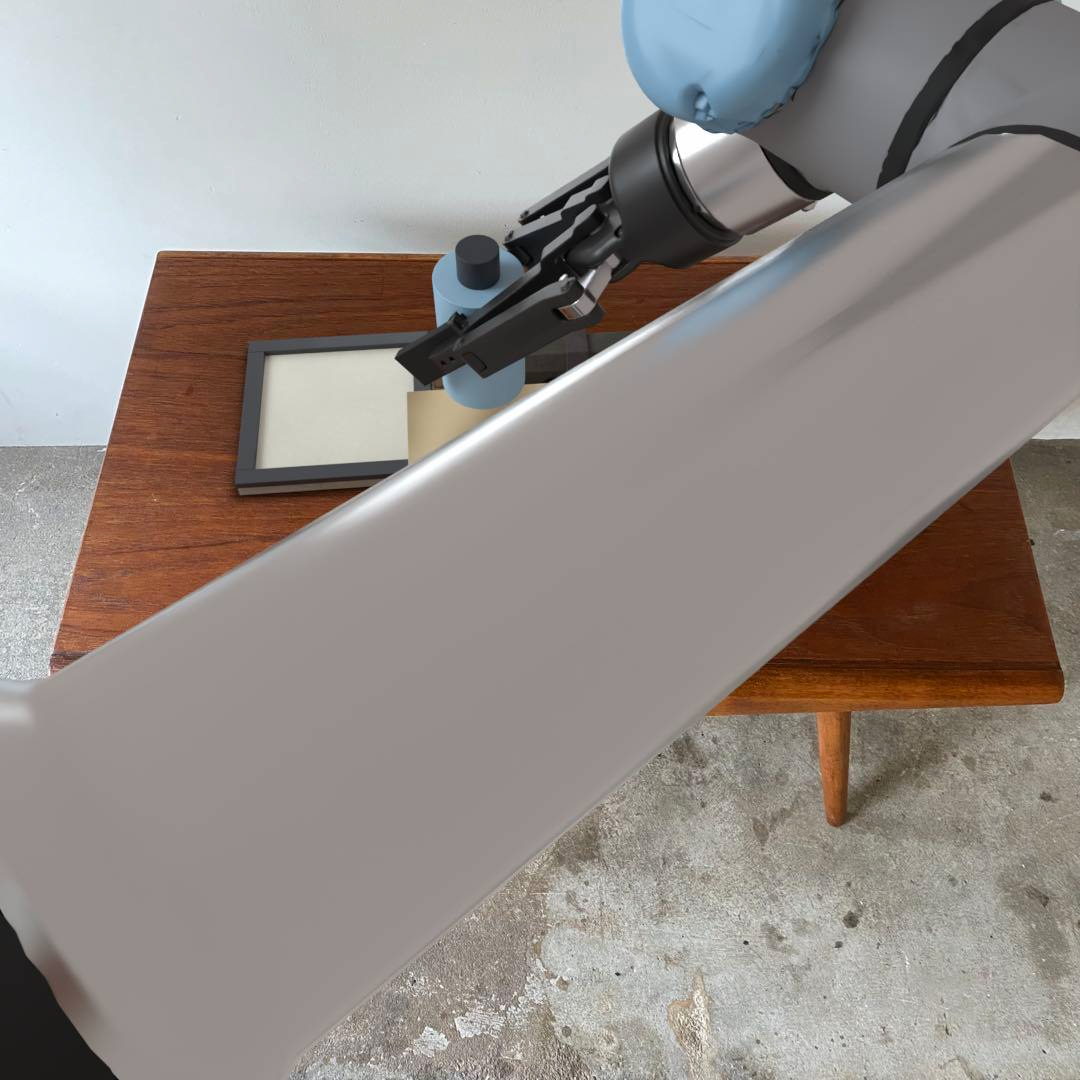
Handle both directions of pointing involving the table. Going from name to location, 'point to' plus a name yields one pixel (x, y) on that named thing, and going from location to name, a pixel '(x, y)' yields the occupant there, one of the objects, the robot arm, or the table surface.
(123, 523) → the table surface
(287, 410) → the whiteboard
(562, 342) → the tube
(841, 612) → the table surface
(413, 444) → the stand
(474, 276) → the cleaner bottle
